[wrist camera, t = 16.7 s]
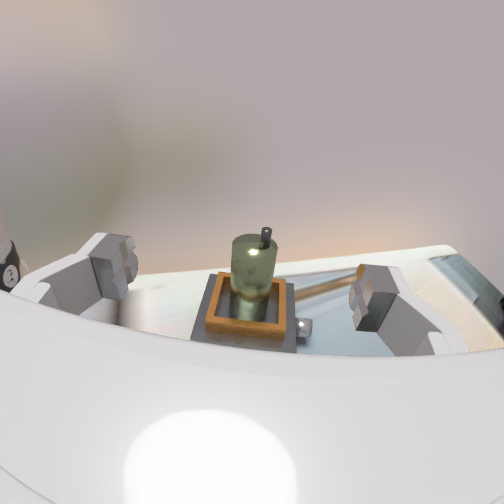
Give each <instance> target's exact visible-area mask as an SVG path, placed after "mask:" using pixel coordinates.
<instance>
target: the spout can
mask: <svg viewBox="0 0 504 504" xmlns="http://www.w3.org/2000/svg"><path fill="white" fill-rule="evenodd" d="M271 233H272V229H271V228H269V227H264V228H262V233H261V235H260V234H244V235H241V236H238V237H237V238H235V240H234V241H233V244H232V260H231V279H230V299H229V311H230V313H231V315H232V316H233V317H234V318H236V319H239V320H248V321H256V322H257V321H259V320H261V319H263V318H264V317H265V316H266V314H267V309H268V303H269V297H270V291H271V286H272V280H273V274H274V267H275V261H276V255H277V248H278V247H277V244H276V243H275V241H274V240H272V239H271Z"/></svg>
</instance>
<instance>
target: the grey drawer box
mask: <svg viewBox="0 0 504 504" xmlns="http://www.w3.org/2000/svg"><path fill="white" fill-rule="evenodd" d="M230 279H231V273H226V272H218V275H217V274H210V276H209V279H208V282H207V285H206V289H205V292H204V295H203V298H202V301H201V304H200V308H199V311H198V314H197V317H196V321H195V324H194V327H193V331H192V334H191V337H190V339H191V341H196V342H203V343H209V344H216V345H223V346H230V347H237V348H245V349H254V350H263V351H273V352H283V353H296V337H307V338H310V336H311V333H312V319H307V318H296V317H295V300H294V284H293V283H286V280H285V279H276V278H273V280H272V286H271V291H270V297H269V303H268V309H267V314H266V316H265V317H264V318H263V319H261V320H259V321H257V322H256V321H248V320H239V319H236V318H234V317H233V316H232V315H231V313H230V311H229V299H230Z"/></svg>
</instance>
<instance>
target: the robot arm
mask: <svg viewBox="0 0 504 504" xmlns="http://www.w3.org/2000/svg"><path fill="white" fill-rule="evenodd" d="M134 249H135V242H134V239H133V238H132V237H131V236H123V235H116V234H108V233H101V232H100V233H96V234H95V235H94V236H93V237H92V238H91V239H90V240H89V241H88V242H87V243H86V244H85V245H84V246H83V247H82V248H81V249H80V251H78V252H77V253H76V254H71V255H69V256H67V257H64V258H62V259H60V260H58V261H55V262H53V263H51V264H49V265H47V266H45V267H42V268H40V269H38V270H36V271H34V272H32V273H29V271H28V269H27V267H26V265H25V263H24V261H23V260H20V259H19V256H18V252H17V249H16V247H15V245H14V243H13V241H11V240H10V237H9V234H8V231H7V227H6V224H5V221H4V217H3V213H2V210H1V206H0V504H504V348H501V349H493V350H485V351H477V352H470V350H469V348H468V346H467V344H466V342H465V340H464V338H463V335H462V333H461V331H460V330H459V329H458V328H456V327H455V326H454V325H453V324H452V323H450V322H449V321H448V320H447V319H445V318H444V317H443V316H442V315H441V314H439V313H438V312H437V311H436V310H434V309H433V308H432V307H431V306H429V305H428V304H427V303H426V302H424V301H423V300H422V299H420V298H419V297H418V296H417V295H413V294H412V292H411V290H410V288H409V286H408V284H407V282H406V280H405V278H404V276H403V274H402V272H401V271H400V269H399V268H398V267H391V266H378V265H367V264H360V265H359V267H358V269H357V271H356V275H357V278H358V279H357V280H356V281H354V282H353V283H352V285H351V288H350V293H349V305H350V308H351V309H352V310H353V311H354V315H353V317H352V318H353V322H354V326H355V330H356V331H365V332H377V334H378V335H379V337H380V338H381V339H382V340H383V341H384V343H385V344H386V345H387V346H388V347H389V349H390V350H391V351H392V352H393V354H394V355H395V356H396V357H359V356H328V355H310V354H296V353H283V352H273V351H263V350H254V349H245V348H237V347H230V346H223V345H216V344H209V343H203V342H196V341H191V340H185V339H179V338H174V337H168V336H163V335H158V334H153V333H148V332H143V331H139V330H134V329H129V328H125V327H121V326H117V325H112V324H108V323H104V322H100V321H97V320H93V319H89V318H85V317H82V316H78V315H80V314H81V313H82V312H84V311H85V310H87V309H88V308H89V307H91V306H92V305H94V304H95V303H96V302H98V301H99V300H101V299H102V298H107V299H112V300H118V301H122V299H123V297H124V296H125V294H126V292H127V291H128V284H129V283H131V282H133V281H134V279H135V277H136V275H137V271H138V259H137V256H136V255H135V254H134V253H133V250H134Z"/></svg>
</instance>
